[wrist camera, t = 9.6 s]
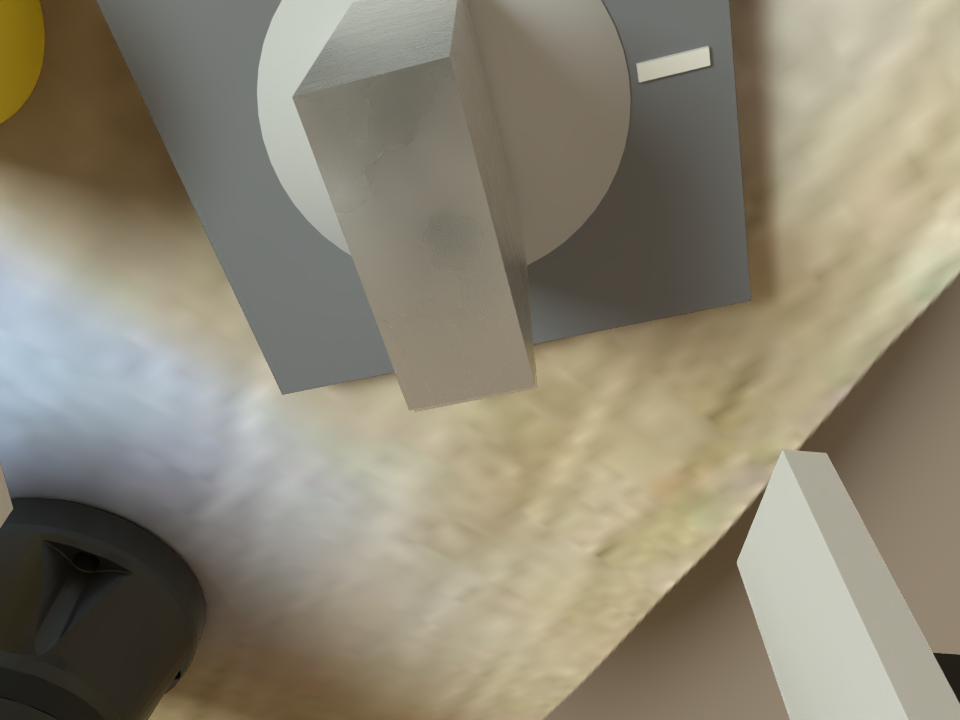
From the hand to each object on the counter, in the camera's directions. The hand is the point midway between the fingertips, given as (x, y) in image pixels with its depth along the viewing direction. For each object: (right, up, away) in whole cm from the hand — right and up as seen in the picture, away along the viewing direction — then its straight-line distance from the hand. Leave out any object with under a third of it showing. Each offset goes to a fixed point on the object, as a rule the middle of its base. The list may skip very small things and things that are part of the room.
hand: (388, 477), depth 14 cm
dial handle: (0, +10, +15) cm, 18 cm away
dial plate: (0, +12, +17) cm, 21 cm away
